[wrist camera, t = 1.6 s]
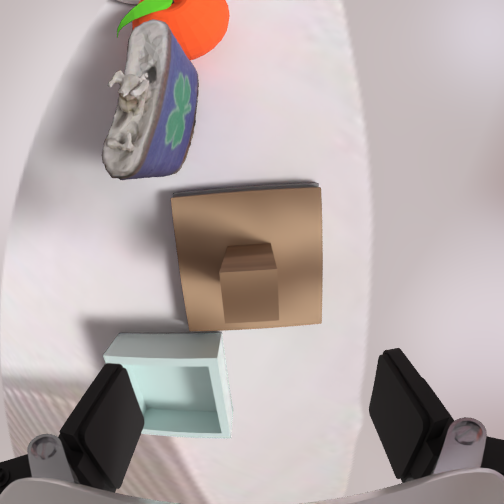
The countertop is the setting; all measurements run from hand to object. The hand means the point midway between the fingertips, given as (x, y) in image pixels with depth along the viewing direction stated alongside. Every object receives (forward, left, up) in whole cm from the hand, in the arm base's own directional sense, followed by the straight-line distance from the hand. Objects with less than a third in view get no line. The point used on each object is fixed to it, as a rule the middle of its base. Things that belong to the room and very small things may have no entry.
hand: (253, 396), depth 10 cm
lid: (-1, 0, -15) cm, 15 cm away
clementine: (-19, -4, -15) cm, 25 cm away
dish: (+11, -8, -15) cm, 20 cm away
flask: (-12, -5, -15) cm, 20 cm away
